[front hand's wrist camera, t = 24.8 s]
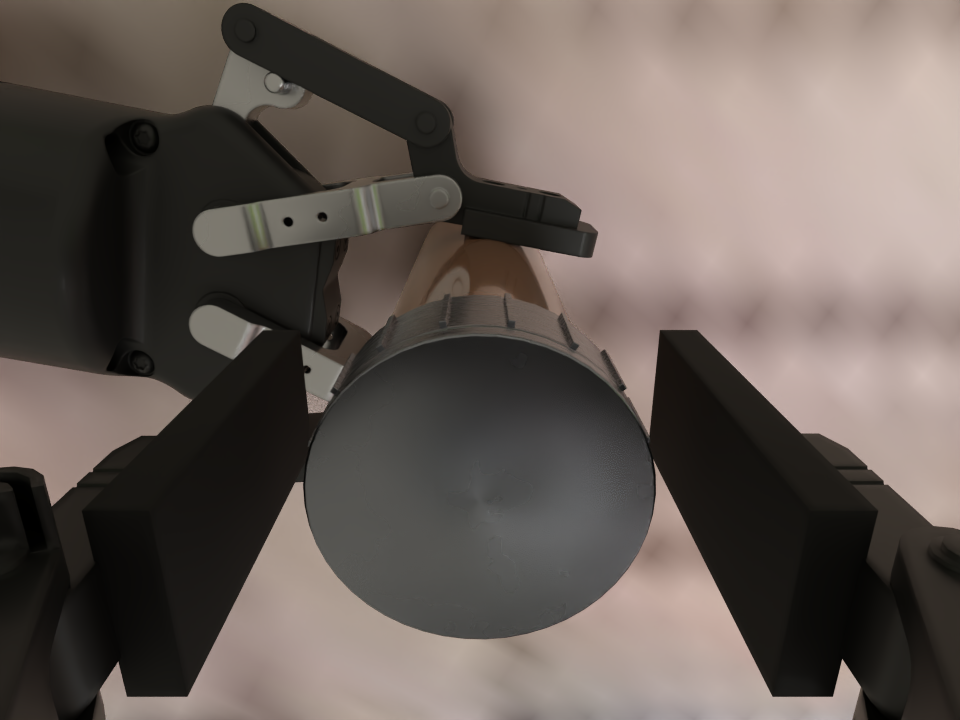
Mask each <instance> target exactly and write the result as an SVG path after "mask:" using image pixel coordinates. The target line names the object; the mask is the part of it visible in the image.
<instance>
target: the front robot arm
mask: <svg viewBox="0 0 960 720" xmlns="http://www.w3.org/2000/svg"><path fill="white" fill-rule="evenodd" d="M310 437H311V436H310V426H309V416H308V406H307V396H306V386H305V376H304V366H303V356H302V346H301V335H300V330H263V331H262V332H261V333H260V334H259V335H258V336H257V337H256V338H255V339H254V340H253V341H252V342H251V343H250V344H249V345H248V346H247V347H246V348H245V349H244V350H243V351H242V352H240V353H239V354H238V355H237V356H236V357H235V358H234V359H233V360H232V361H231V362H230V363H229V364H228V365H227V366H226V367H225V368H224V369H223V370H222V371H221V372H220V373H219V374H218V375H217V376H216V377H215V378H214V379H213V380H212V381H211V382H210V383H209V384H208V385H207V386H206V387H205V388H204V389H203V390H202V391H201V392H200V393H199V394H198V395H197V396H196V397H195V398H194V399H193V400H192V401H191V402H190V403H189V404H188V405H187V406H186V407H185V408H184V409H183V410H182V411H181V412H180V413H179V414H178V415H177V416H176V417H175V418H174V419H173V420H172V421H171V422H170V423H169V424H168V425H167V426H166V427H165V428H164V429H163V430H162V431H161V432H160V433H159V434H158V435H157V436H140V437H139V438H137V439H135V440H133V441H131V442H129V443H127V444H125V445H123V446H121V447H119V448H117V449H115V450H113V451H112V452H111V453H110V454H109V455H108V456H106V457H105V458H104V459H103V460H102V461H101V462H100V463H99V464H98V465H97V466H96V467H94V468H93V472H89V473H88V474H87V475H86V476H85V477H84V478H82V479H81V480H80V481H79V482H78V483H77V487H73V488H72V489H70V490H69V491H68V492H67V493H66V494H65V495H64V496H63V497H62V498H61V499H60V500H58V501H57V502H56V503H55V504H54V505H53V506H52V507H51V503H50V499H49V495H48V491H47V488H46V484H45V480H44V476H43V475H42V474H40V473H39V472H37V471H35V470H34V469H30V468H22V467H2V468H0V720H106V719H105V711H104V704H103V701H102V697H101V693H100V688H101V687H102V685H103V684H104V682H105V681H106V679H107V678H108V676H109V675H110V673H111V672H112V670H113V668H114V667H115V665H116V664H117V662H118V661H119V666H120V670H121V674H122V678H123V682H124V686H125V690H126V694H127V697H187V696H188V694H189V692H190V690H191V688H192V686H193V684H194V682H195V680H196V678H197V676H198V674H199V672H200V670H201V668H202V666H203V664H204V662H205V660H206V658H207V656H208V654H209V653H210V651H211V649H212V647H213V645H214V643H215V641H216V639H217V637H218V635H219V633H220V631H221V629H222V627H223V625H224V623H225V621H226V619H227V617H228V615H229V613H230V611H231V609H232V607H233V605H234V603H235V601H236V599H237V597H238V595H239V593H240V591H241V589H242V587H243V585H244V583H245V581H246V579H247V577H248V575H249V573H250V571H251V569H252V567H253V565H254V563H255V561H256V559H257V557H258V555H259V553H260V551H261V549H262V547H263V545H264V543H265V541H266V539H267V537H268V535H269V533H270V531H271V529H272V527H273V525H274V523H275V521H276V519H277V517H278V515H279V513H280V511H281V509H282V507H283V505H284V503H285V501H286V499H287V497H288V495H289V493H290V491H291V489H292V487H293V485H294V483H295V481H296V479H297V477H298V475H299V473H300V471H301V469H302V467H303V465H304V463H305V461H306V458H307V454H308V449H309V447H308V441H309V439H310ZM650 440H651V443H649V445H650V449H651V452H652V455H653V459H654V461H655V463H656V465H657V467H658V469H659V471H660V473H661V475H662V477H663V479H664V481H665V483H666V485H667V487H668V489H669V491H670V493H671V495H672V497H673V499H674V501H675V503H676V505H677V507H678V509H679V511H680V513H681V515H682V517H683V519H684V521H685V523H686V525H687V527H688V529H689V531H690V533H691V535H692V537H693V539H694V541H695V543H696V545H697V547H698V549H699V551H700V553H701V555H702V557H703V559H704V561H705V563H706V565H707V567H708V569H709V571H710V573H711V575H712V577H713V579H714V581H715V583H716V585H717V587H718V589H719V591H720V593H721V595H722V597H723V599H724V601H725V603H726V605H727V607H728V609H729V611H730V613H731V615H732V617H733V619H734V621H735V623H736V625H737V627H738V629H739V631H740V633H741V635H742V637H743V639H744V641H745V643H746V645H747V647H748V649H749V651H750V653H751V655H752V656H753V658H754V660H755V662H756V664H757V666H758V668H759V670H760V672H761V674H762V676H763V678H764V680H765V682H766V684H767V686H768V688H769V690H770V692H771V694H772V696H773V697H833V694H834V690H835V686H836V682H837V678H838V674H839V670H840V666H841V661H842V659H843V660H844V662H845V663H846V665H847V666H848V668H849V669H850V671H851V672H852V674H853V675H854V677H855V678H856V680H857V681H858V683H859V684H860V686H861V689H860V693H859V697H858V701H857V704H856V708H855V712H854V716H853V720H960V530H958V529H955V528H947V527H937V526H933V525H931V524H930V523H929V522H928V521H927V520H926V519H925V518H924V517H923V516H922V515H920V514H919V513H918V512H917V511H916V510H915V509H914V508H913V507H912V506H911V505H909V504H908V503H907V502H906V501H905V500H904V499H903V498H902V497H901V496H900V495H898V494H897V493H896V492H895V491H894V490H893V489H892V488H891V487H890V486H889V485H884V481H883V480H882V479H881V478H880V477H879V476H878V475H876V474H875V473H874V472H873V471H872V470H868V469H867V465H865V464H864V463H863V462H862V461H861V460H860V459H859V458H858V457H857V456H856V455H854V454H853V453H852V452H851V451H850V450H849V449H848V448H846V447H844V446H842V445H840V444H838V443H836V442H834V441H832V440H830V439H828V438H826V437H824V436H822V435H821V434H801V433H800V432H799V431H798V430H797V429H796V428H795V427H794V426H793V425H792V424H791V423H790V422H789V421H788V420H787V419H786V418H785V417H784V416H783V415H782V414H781V413H780V412H779V411H778V410H777V409H776V408H775V407H774V406H773V405H772V404H771V403H770V402H769V401H768V400H767V399H766V398H765V397H764V396H763V395H762V394H761V393H760V392H759V391H758V390H757V389H756V388H755V387H754V386H753V385H752V384H751V383H750V382H749V381H748V380H747V379H746V378H745V377H744V376H743V375H742V374H741V373H740V372H739V371H738V370H737V369H736V368H735V367H734V366H733V365H732V364H731V363H730V362H729V361H728V360H727V359H726V358H725V357H724V356H723V355H722V354H720V353H719V352H718V351H717V350H716V349H715V348H714V347H713V346H712V345H711V344H710V343H709V342H708V341H707V340H706V339H705V338H704V337H703V336H702V335H701V334H700V333H699V332H698V331H697V330H660V335H659V345H658V355H657V366H656V376H655V386H654V396H653V406H652V416H651V426H650Z"/></svg>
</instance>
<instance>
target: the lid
mask: <svg viewBox="0 0 960 720" xmlns="http://www.w3.org/2000/svg"><path fill="white" fill-rule="evenodd" d="M625 389H627V388H626V386H625V384H624V382H623V380H622V378H621V377H620V375H619V373H618V371H617V369H616V367H615V365H614V364H613V362H612V360H611V358H610V356H609V354H608V353H607V351H606V350H603V351H602V352H601V351H600V350H599V349H598V348H597V346H596V345H595V344H594V343H593V342H592V341H591V340H590V339H589V338H588V337H587V336H586V335H585V334H584V333H583V332H581V331H580V330H579V329H578V328H576V327H575V326H574V325H573V324H571V323H570V322H569V320H568V317H567V315H565V314H564V313H561V314H560V315H559V316H558V315H557V314H555V313H553V312H551V311H549V310H546V309H544V308H542V307H540V306H537V305H535V304H532V303H528V302H525V301H521V300H518V299H514V298H512V297H511V294H509V293H505V294H504V297H501V296H493V295H468V296H458V297H451V295H450V294H445V295H444V298H443V299H442V300H438V301H434V302H431V303H428V304H425V305H423V306H420V307H417V308H414V309H412V310H410V311H408V312H407V313H405V314H403V315H401V316H399V317H397V318H396V316H395V315H392V316H391V317H389V319H388V321H387V324H386V326H384V327H383V328H381V329H380V330H379V331H378V332H377V333H376V334H375V335H374V336H372V337H371V338H370V339H369V340H368V341H367V342H366V343H365V344H364V346H363V347H362V348H361V349H360V351H359V352H358V353H357V354H356V355H355V354H354V353H351V354H350V356H349V357H348V359H347V361H346V363H345V365H344V367H343V369H342V370H341V372H340V374H339V376H338V378H337V380H336V382H335V383H334V385H333V387H332V389H331V391H330V392H331V393H332V394H334V395H333V396H332V398H331V400H330V401H329V403H328V405H327V407H326V409H325V410H324V412H323V414H322V416H321V418H320V420H319V422H318V424H317V426H316V428H315V430H314V431H313V433H312V435H311V437H310V439H309V441H308V447H309V449H308V454H307V458H306V462H305V469H304V481H303V489H304V503H305V509H306V513H307V518H308V522H309V526H310V529H311V531H312V534H313V536H314V539H315V542H316V544H317V546H318V548H319V550H320V551H321V553H322V555H323V557H324V559H325V560H326V562H327V563H328V565H329V566H330V567H331V569H332V570H333V571H334V573H335V574H336V575H337V577H338V578H339V579H340V580H341V581H342V582H343V583H344V584H345V585H346V586H347V587H348V588H349V589H350V590H351V591H352V592H353V593H354V594H355V595H357V596H358V597H359V598H360V599H361V600H363V601H364V602H365V603H366V604H368V605H369V606H371V607H372V608H374V609H376V610H377V611H379V612H380V613H382V614H384V615H385V616H387V617H389V618H391V619H393V620H396V621H398V622H400V623H402V624H404V625H407V626H410V627H412V628H415V629H418V630H421V631H424V632H428V633H433V634H437V635H441V636H447V637H455V638H463V639H494V638H507V637H512V636H517V635H523V634H528V633H531V632H534V631H538V630H541V629H544V628H547V627H550V626H552V625H555V624H557V623H559V622H562V621H564V620H566V619H568V618H570V617H572V616H573V615H575V614H577V613H579V612H581V611H582V610H584V609H586V608H587V607H588V606H590V605H591V604H592V603H594V602H595V601H597V600H598V599H599V598H601V597H602V596H603V595H604V594H605V593H606V592H607V591H608V590H609V589H610V588H611V587H613V586H614V585H615V584H616V583H617V581H618V580H619V579H620V578H621V577H622V575H623V574H624V573H625V572H626V571H627V569H628V568H629V567H630V565H631V563H632V562H633V560H634V559H635V557H636V556H637V554H638V552H639V550H640V548H641V546H642V544H643V542H644V540H645V537H646V535H647V532H648V529H649V526H650V522H651V519H652V516H653V510H654V503H655V496H656V474H655V468H654V461H653V455H652V452H651V449H650V445H649V443H651V440H650V436H649V434H648V433H647V431H646V429H645V427H644V425H643V423H642V421H641V419H640V417H639V416H638V414H637V412H636V410H635V408H634V406H633V404H632V402H631V400H630V398H629V397H627V396H626V394H625V392H624V390H625Z"/></svg>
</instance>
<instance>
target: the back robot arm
mask: <svg viewBox="0 0 960 720" xmlns="http://www.w3.org/2000/svg"><path fill="white" fill-rule="evenodd" d="M221 29H222V35H223V39H224V41H225V43H226V44H227V46H228V47H229V49H230V52H229V55H228V58H227V61H226V64H225V67H224V70H223V74H222V77H221V80H220V83H219V86H218V89H217V92H216V95H215V98H214V101H213V105H206V106H200V107H196V108H194V109H191V110H189V111H186V112H183V113H180V114H175V115H172V114H165V113H159V112H154V111H149V110H144V109H138V108H133V107H128V106H123V105H118V104H113V103H108V102H103V101H98V100H92V99H87V98H82V97H77V96H72V95H67V94H62V93H57V92H52V91H47V90H41V89H36V88H32V87H27V86H21V85H16V84H11V83H6V82H1V81H0V357H3V358H9V359H15V360H20V361H26V362H32V363H38V364H44V365H50V366H56V367H62V368H67V369H73V370H79V371H85V372H91V373H97V374H103V375H114V376H138V377H148V378H153V379H156V380H158V381H161V382H163V383H165V384H167V385H169V386H170V387H172V388H174V389H175V390H177V391H178V392H179V393H181V394H182V395H184V396H185V397H187V398H189V399H192V400H193V399H194V398H195V397H196V396H197V395H198V394H199V393H200V392H201V391H202V390H203V389H204V388H205V387H206V386H207V385H208V384H209V383H210V382H211V381H212V380H213V379H214V378H215V377H216V376H217V375H218V374H219V373H220V372H221V371H222V370H223V369H224V368H225V367H226V366H227V365H228V364H229V363H230V362H231V361H232V360H233V359H234V358H235V357H236V356H237V355H238V354H239V353H240V352H242V351H243V350H244V349H245V348H246V347H247V346H248V345H249V344H250V343H251V342H252V341H253V340H254V339H255V338H256V337H257V336H258V335H259V334H260V333H261V332H262V331H263V330H300V335H301V346H302V356H303V366H304V376H305V386H306V391H307V392H309V393H311V394H313V395H315V396H317V397H319V398H321V399H323V400H326V401H328V402H329V401H330V400H331V398H332V396H333V395H334V394H332V393H331V392H330V391H331V389H332V387H333V385H334V383H335V382H336V380H337V378H338V376H339V374H340V372H341V370H342V369H343V367H344V365H345V363H346V361H347V359H348V357H349V356H350V354H351V353H354V354H355V355H356V354H357V353H358V352H359V351H360V349H361V348H362V347H363V346H364V344H365V343H366V342H367V341H368V340H369V339H370V338H371V337H372V336H371V334H370V333H368V332H367V331H366V330H364V329H363V328H361V327H359V326H357V325H355V324H353V323H351V322H349V321H347V320H345V319H344V318H342V317H340V316H339V314H340V306H341V295H340V289H339V282H338V271H339V269H340V266H341V264H342V261H343V259H344V257H345V254H346V252H347V247H348V239H349V237H355V236H361V235H366V234H370V233H374V232H377V231H380V230H385V229H392V228H399V227H406V226H413V225H421V224H428V223H435V222H447V223H452V224H457V225H462V229H461V235H466V236H471V237H477V238H482V239H487V240H495V241H499V242H504V243H508V244H514V245H519V246H524V247H530V248H535V249H540V250H546V251H551V252H556V253H561V254H567V255H572V256H577V257H584V258H591V257H592V255H593V251H594V247H595V243H596V239H597V235H598V232H597V231H596V230H595V229H594V228H593V227H592V226H591V225H590V224H588V223H585V222H581V221H579V219H580V215H581V209H580V208H579V207H578V206H577V205H575V204H574V203H573V202H571V201H570V200H568V199H567V198H565V197H564V196H562V195H561V194H559V193H554V192H549V191H544V190H538V189H534V188H529V187H524V186H518V185H513V184H508V183H503V182H498V181H493V180H488V179H483V178H478V177H475V176H473V175H471V174H470V173H469V172H467V171H466V170H465V169H464V167H463V166H462V164H461V162H460V160H459V157H458V152H457V146H456V140H455V134H454V128H453V126H454V118H453V114H452V112H451V110H450V108H449V107H448V106H447V105H446V104H445V103H443V102H442V101H440V100H438V99H436V98H434V97H432V96H430V95H428V94H426V93H424V92H422V91H420V90H418V89H417V88H415V87H413V86H411V85H409V84H407V83H405V82H403V81H401V80H399V79H397V78H395V77H393V76H391V75H389V74H388V73H386V72H384V71H382V70H380V69H378V68H376V67H374V66H372V65H370V64H368V63H366V62H364V61H362V60H360V59H359V58H357V57H355V56H353V55H351V54H349V53H347V52H345V51H343V50H341V49H339V48H337V47H335V46H333V45H331V44H330V43H328V42H326V41H324V40H322V39H320V38H318V37H316V36H314V35H312V34H310V33H308V32H306V31H304V30H302V29H301V28H299V27H297V26H295V25H293V24H291V23H289V22H287V21H285V20H283V19H281V18H279V17H277V16H275V15H273V14H271V13H269V12H267V11H265V10H262V9H260V8H258V7H256V6H254V5H251V4H248V3H239V4H236V5H234V6H232V7H230V8H229V9H228V10H227V12H226V13H225V15H224V17H223V20H222V25H221ZM313 93H314V94H316V95H318V96H320V97H322V98H324V99H326V100H328V101H330V102H332V103H334V104H336V105H338V106H340V107H342V108H344V109H346V110H348V111H350V112H351V113H353V114H355V115H357V116H359V117H361V118H363V119H365V120H367V121H369V122H371V123H373V124H375V125H377V126H379V127H381V128H383V129H385V130H387V131H389V132H391V133H393V134H395V135H397V136H399V137H401V138H403V139H405V140H407V144H408V150H409V155H410V160H411V165H412V170H413V172H408V173H401V174H394V175H387V176H373V177H366V178H359V179H352V180H345V181H338V182H331V183H324V184H320V183H319V182H318V181H317V180H316V179H315V178H314V177H313V176H312V175H311V174H310V173H309V172H308V171H307V170H306V169H305V168H304V167H303V166H302V165H301V164H300V163H299V162H298V161H297V160H296V159H295V158H294V157H293V156H292V155H291V154H290V153H289V152H288V151H287V150H286V149H285V148H284V147H283V146H282V145H281V144H280V143H279V142H278V141H277V140H276V139H275V138H274V137H273V136H272V135H271V134H270V133H269V132H268V131H267V130H266V129H265V128H264V127H263V126H262V125H261V124H260V123H259V122H258V121H257V118H258V116H259V114H260V113H261V112H262V111H263V110H264V109H265V108H267V107H270V106H274V107H277V108H282V109H297V108H301V107H303V106H304V105H306V104H307V103H308V102H309V100H310V99H311V97H312V94H313ZM331 334H332V335H331ZM308 366H309V367H308ZM322 414H323V412H322V413H308V416H309V426H310V436H311V435H312V433H313V431H314V430H315V428H316V426H317V424H318V422H319V420H320V418H321V416H322ZM305 462H306V461H305ZM304 469H305V463H304V465H303V467H302V469H301V471H300V473H299V475H298V477H297V479H296V481H295V482H303V481H304Z"/></svg>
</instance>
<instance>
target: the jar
mask: <svg viewBox="0 0 960 720" xmlns="http://www.w3.org/2000/svg"><path fill="white" fill-rule="evenodd" d="M461 229H462V225H457V224H452V223H447V222H436V223H435V224H434V225H433V226H432V228H431V229H430V231H429V232H428V234H427V236H426V238H425V240H424V243H423V245H422V247H421V249H420V252H419V254H418V256H417V259H416V261H415V263H414V266H413V268H412V270H411V272H410V275H409V277H408V279H407V282H406V284H405V286H404V288H403V291H402V293H401V295H400V298H399V300H398V302H397V305H396V307H395V309H394V311H393V314H392V315H395V316H396V318H397V317H399V316H401V315H403V314H405V313H407V312H408V311H410V310H412V309H414V308H417V307H420V306H423V305H425V304H428V303H431V302H434V301H438V300H442V299H443V298H444V295H445V294H450V295H451V297H458V296H468V295H493V296H501V297H504V294H505V293H509V294H511V297H512V298H514V299H518V300H521V301H525V302H528V303H532V304H535V305H537V306H540V307H542V308H544V309H546V310H549V311H551V312H553V313H555V314H557V315H558V316H559V315H560V314H561V313H564V314H565V315H567V313H566V311H565V309H564V307H563V304H562V302H561V300H560V297H559V295H558V293H557V290H556V288H555V286H554V284H553V281H552V279H551V277H550V274H549V272H548V270H547V268H546V265H545V263H544V261H543V258H542V256H541V254H540V251H539V249H535V248H530V247H524V246H519V245H514V244H508V243H504V242H499V241H495V240H487V239H482V238H477V237H471V236H466V235H461ZM567 317H568V316H567ZM568 320H569V318H568ZM569 322H570V320H569Z"/></svg>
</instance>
